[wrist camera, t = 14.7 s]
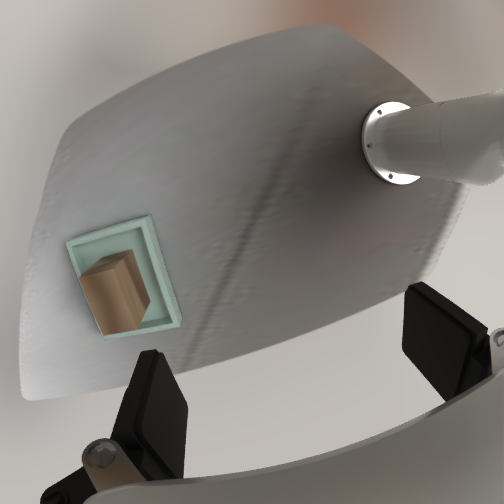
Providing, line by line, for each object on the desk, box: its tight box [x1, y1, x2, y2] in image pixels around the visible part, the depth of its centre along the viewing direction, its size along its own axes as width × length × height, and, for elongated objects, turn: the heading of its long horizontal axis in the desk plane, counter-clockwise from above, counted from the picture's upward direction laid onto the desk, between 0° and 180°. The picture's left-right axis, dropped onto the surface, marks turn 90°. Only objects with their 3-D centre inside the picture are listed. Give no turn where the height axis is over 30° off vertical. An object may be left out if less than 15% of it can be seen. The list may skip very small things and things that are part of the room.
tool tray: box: [65, 215, 182, 340], centre depth 38 cm, size 13×16×3 cm
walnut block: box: [79, 249, 151, 336], centre depth 35 cm, size 5×8×8 cm, turn 12°
